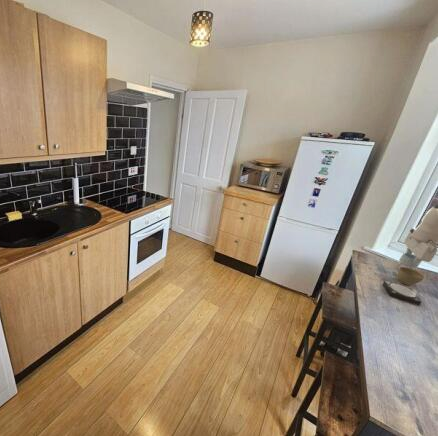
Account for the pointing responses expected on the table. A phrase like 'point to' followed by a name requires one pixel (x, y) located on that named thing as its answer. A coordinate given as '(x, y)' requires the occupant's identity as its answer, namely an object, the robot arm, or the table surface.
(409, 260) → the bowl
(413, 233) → the robot arm
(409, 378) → the table surface
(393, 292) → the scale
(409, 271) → the flower pot
